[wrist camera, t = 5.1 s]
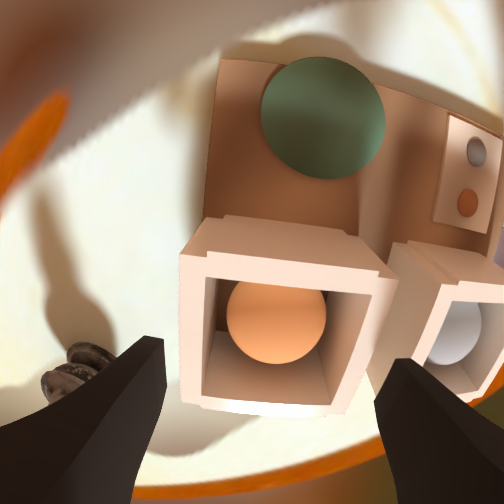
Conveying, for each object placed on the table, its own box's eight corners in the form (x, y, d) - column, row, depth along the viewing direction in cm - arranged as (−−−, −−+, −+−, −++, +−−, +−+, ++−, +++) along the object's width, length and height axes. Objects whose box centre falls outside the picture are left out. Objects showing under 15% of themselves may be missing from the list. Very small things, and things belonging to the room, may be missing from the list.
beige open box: (359, 232, 13) (401, 273, 8) (326, 353, 15) (343, 417, 11) (206, 212, 13) (179, 247, 8) (199, 340, 15) (181, 404, 11)
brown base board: (503, 133, 11) (520, 134, 10) (448, 338, 16) (459, 351, 15) (225, 54, 11) (221, 43, 10) (200, 322, 16) (195, 338, 14)
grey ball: (465, 274, 13) (507, 309, 9) (441, 335, 15) (472, 377, 11) (410, 267, 13) (450, 307, 9) (386, 335, 15) (413, 384, 11)
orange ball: (325, 256, 13) (349, 300, 9) (307, 330, 14) (319, 387, 11) (235, 245, 13) (225, 287, 9) (227, 322, 14) (217, 378, 11)
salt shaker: (60, 372, 18) (-11, 484, 7) (69, 323, 17) (-33, 456, 5) (124, 410, 19) (74, 537, 8) (145, 369, 17) (79, 531, 6)
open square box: (487, 254, 13) (537, 289, 9) (447, 352, 15) (479, 399, 11) (394, 237, 13) (443, 278, 8) (357, 354, 15) (380, 414, 11)
